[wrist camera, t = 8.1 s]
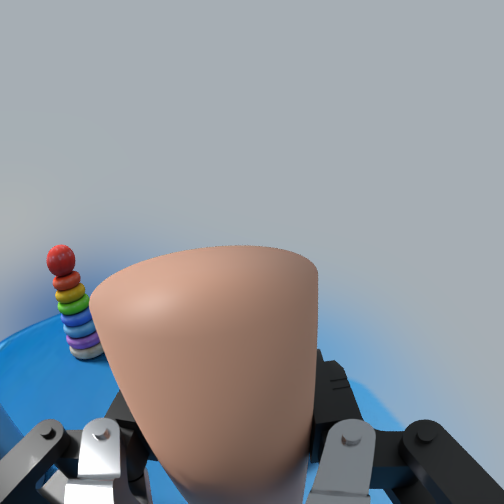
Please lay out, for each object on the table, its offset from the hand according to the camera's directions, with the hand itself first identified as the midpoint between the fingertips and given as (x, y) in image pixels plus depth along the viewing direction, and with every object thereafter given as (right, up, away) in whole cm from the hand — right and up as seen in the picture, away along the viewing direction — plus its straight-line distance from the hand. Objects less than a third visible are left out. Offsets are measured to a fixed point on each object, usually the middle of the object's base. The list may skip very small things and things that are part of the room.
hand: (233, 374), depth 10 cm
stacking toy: (-27, -12, +31) cm, 43 cm away
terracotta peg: (+1, -7, -1) cm, 7 cm away
